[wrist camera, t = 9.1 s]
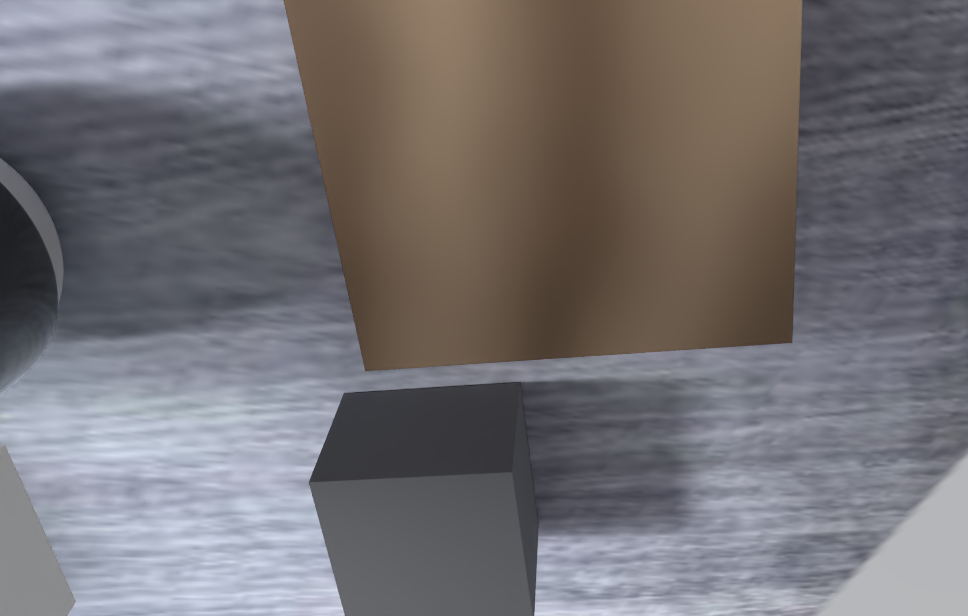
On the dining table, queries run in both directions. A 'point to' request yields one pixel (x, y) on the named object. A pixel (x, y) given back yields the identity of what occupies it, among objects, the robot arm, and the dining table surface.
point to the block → (430, 502)
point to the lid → (556, 172)
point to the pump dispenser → (26, 277)
